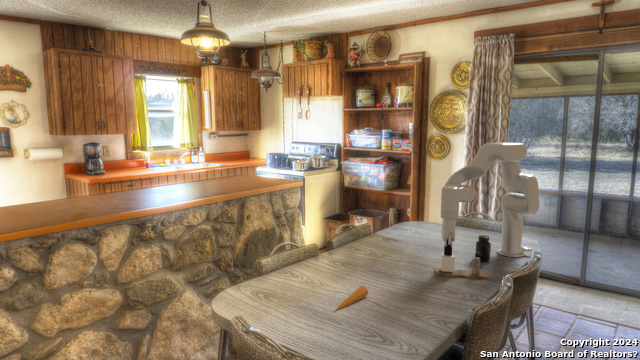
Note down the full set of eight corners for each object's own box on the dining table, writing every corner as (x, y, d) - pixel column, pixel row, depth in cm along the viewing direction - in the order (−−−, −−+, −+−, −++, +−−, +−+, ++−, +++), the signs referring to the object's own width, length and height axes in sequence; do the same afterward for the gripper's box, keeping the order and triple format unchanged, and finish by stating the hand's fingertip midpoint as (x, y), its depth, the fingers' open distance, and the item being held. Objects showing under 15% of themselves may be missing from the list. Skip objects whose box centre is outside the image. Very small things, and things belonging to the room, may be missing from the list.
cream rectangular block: (440, 267, 184) (441, 253, 183) (452, 267, 183) (453, 253, 182) (442, 271, 179) (442, 256, 178) (454, 271, 178) (454, 257, 177)
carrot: (363, 295, 160) (358, 285, 160) (371, 294, 157) (367, 283, 157) (330, 318, 145) (326, 306, 146) (339, 317, 142) (335, 305, 143)
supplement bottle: (474, 260, 198) (475, 237, 197) (475, 256, 204) (477, 233, 203) (489, 263, 195) (490, 238, 194) (490, 259, 201) (491, 235, 200)
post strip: (486, 273, 181) (486, 256, 180) (489, 279, 175) (490, 261, 173) (434, 270, 186) (435, 253, 185) (436, 275, 179) (436, 258, 178)
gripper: (439, 210, 186) (437, 249, 188) (442, 217, 171) (440, 259, 174) (456, 211, 184) (454, 250, 187) (460, 218, 170) (459, 261, 172)
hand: (447, 254), depth 180 cm, fingers closed
